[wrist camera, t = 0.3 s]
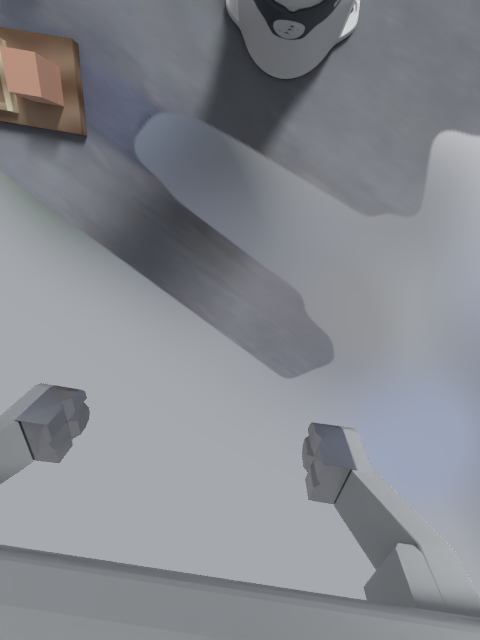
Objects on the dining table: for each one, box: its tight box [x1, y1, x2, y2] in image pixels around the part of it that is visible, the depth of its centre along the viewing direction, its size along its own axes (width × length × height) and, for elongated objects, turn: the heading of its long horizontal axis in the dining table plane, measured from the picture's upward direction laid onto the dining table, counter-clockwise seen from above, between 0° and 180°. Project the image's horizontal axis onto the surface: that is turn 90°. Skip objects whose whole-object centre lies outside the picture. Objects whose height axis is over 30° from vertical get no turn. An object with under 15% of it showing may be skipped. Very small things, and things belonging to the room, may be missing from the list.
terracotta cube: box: [0, 46, 64, 106], centre depth 40 cm, size 5×5×5 cm
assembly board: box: [0, 27, 87, 136], centre depth 42 cm, size 12×20×3 cm, turn 81°
